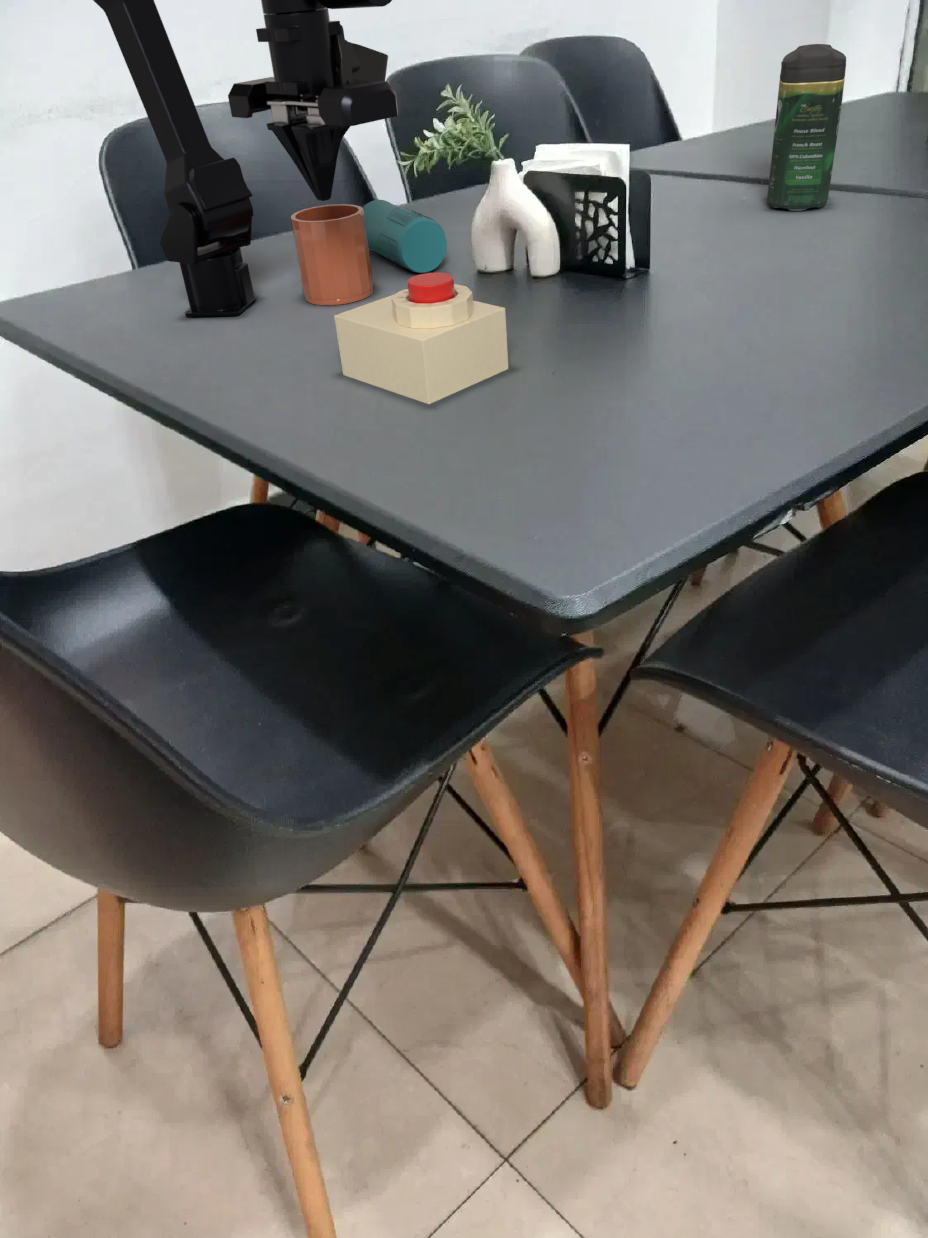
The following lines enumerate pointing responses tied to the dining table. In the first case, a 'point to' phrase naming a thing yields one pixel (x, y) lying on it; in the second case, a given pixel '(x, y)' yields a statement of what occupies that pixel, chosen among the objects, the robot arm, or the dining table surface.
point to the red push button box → (423, 344)
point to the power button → (431, 288)
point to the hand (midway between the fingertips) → (324, 199)
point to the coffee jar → (806, 127)
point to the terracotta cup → (333, 254)
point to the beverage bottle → (404, 236)
